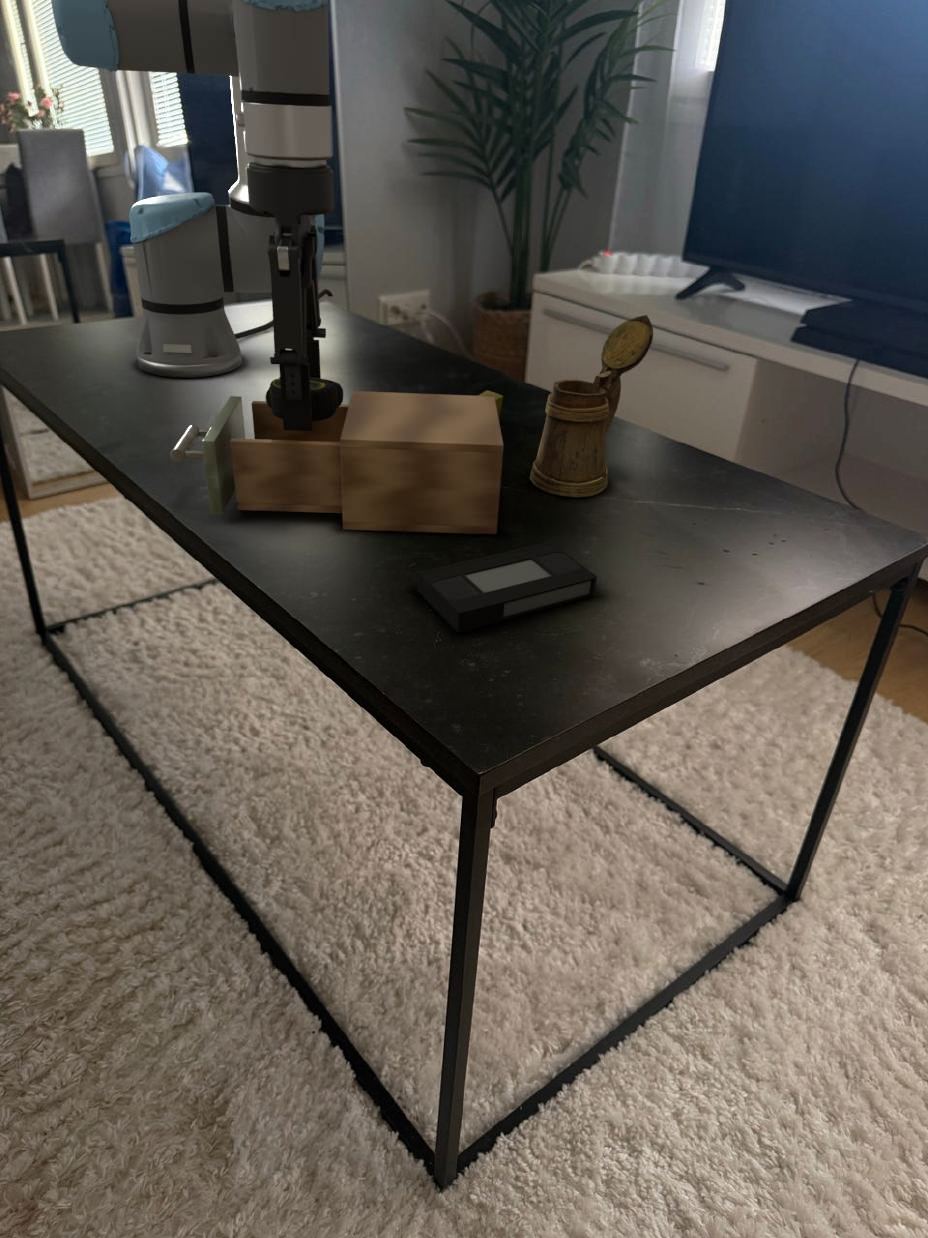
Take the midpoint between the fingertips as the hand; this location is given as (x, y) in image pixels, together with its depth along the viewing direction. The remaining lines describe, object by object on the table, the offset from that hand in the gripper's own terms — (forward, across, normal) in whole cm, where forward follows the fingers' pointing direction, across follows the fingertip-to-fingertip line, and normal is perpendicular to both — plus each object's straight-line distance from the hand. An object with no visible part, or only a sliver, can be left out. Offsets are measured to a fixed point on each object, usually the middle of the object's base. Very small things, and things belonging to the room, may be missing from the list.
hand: (303, 415), depth 85 cm
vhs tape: (+9, +19, +20) cm, 29 cm away
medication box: (+9, -21, +18) cm, 29 cm away
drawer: (+8, 0, -4) cm, 9 cm away
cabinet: (+9, 0, +12) cm, 15 cm away
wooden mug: (+9, -8, +31) cm, 34 cm away
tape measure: (0, 0, 0) cm, 1 cm away
